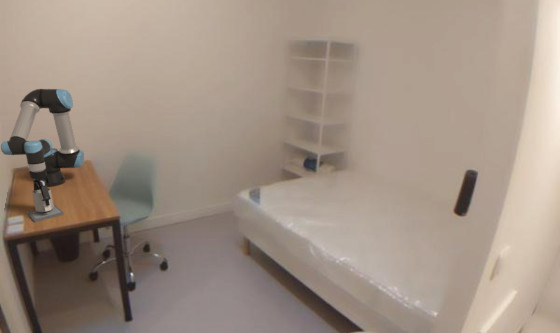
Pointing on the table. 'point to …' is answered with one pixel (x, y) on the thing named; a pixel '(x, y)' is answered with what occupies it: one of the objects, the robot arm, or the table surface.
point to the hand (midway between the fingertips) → (44, 206)
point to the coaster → (45, 214)
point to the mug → (38, 200)
